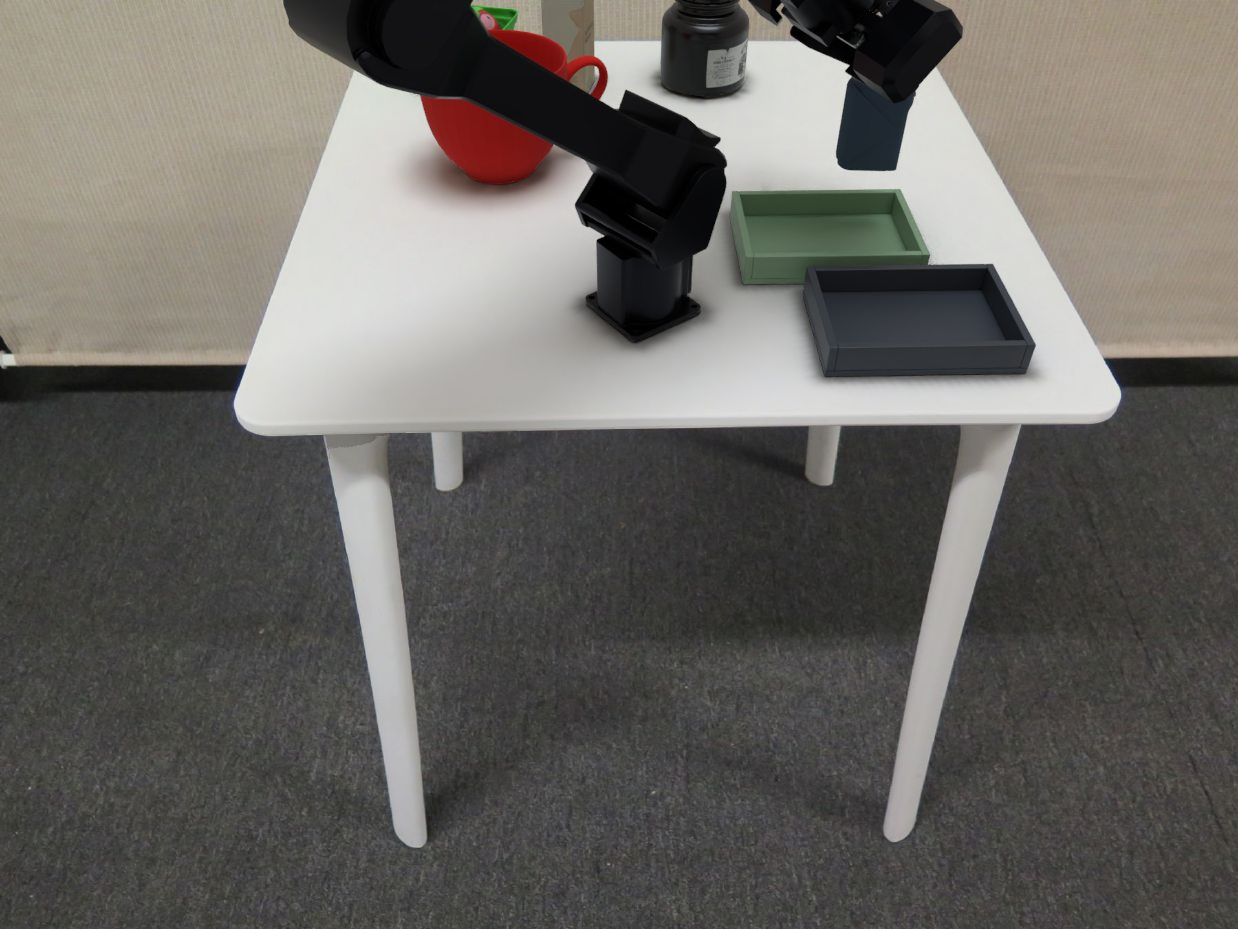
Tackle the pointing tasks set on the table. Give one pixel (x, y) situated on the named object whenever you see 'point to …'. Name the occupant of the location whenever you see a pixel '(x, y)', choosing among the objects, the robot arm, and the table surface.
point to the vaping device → (870, 129)
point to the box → (572, 33)
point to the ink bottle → (704, 47)
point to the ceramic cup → (490, 140)
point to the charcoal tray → (915, 320)
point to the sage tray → (821, 232)
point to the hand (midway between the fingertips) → (898, 81)
